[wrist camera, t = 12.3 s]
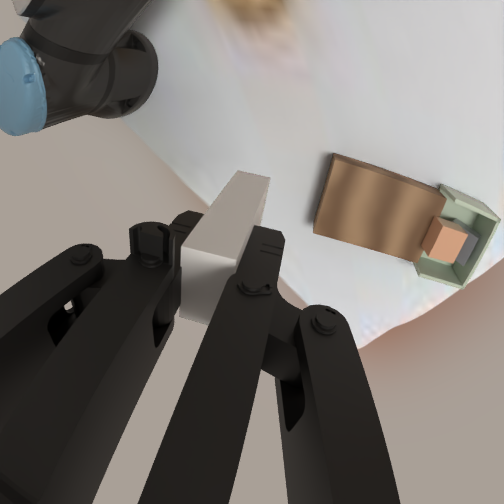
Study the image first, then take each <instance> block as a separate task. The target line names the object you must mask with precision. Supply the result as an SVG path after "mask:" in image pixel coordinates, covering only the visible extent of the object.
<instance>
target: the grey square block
mask: <svg viewBox="0 0 504 504" xmlns="http://www.w3.org/2000/svg"><path fill="white" fill-rule="evenodd" d="M452 222H454V223H456V224H459V225H460V226H461V227H462V228H463V229H464V230H465V232H466V233H467V234H468V236H467V238H466V240H465V242H464V244H463V246H462V248H461V250H460V252H459V254H458V255H457V257H456V259H455V260H456V261H457V262H458V263H460V264H461V265H462V266H464V265H465V264H466V263H467V261H468V259H469V258H470V256H471V254H472V252H473V250H474V248H475V246H476V244H477V242H478V240H479V238H480V236H481V235H480V234H479V233H478V232H476V231H475V230H473V229H472V228H470V227H469V226H467V225H466V224H464V223H463V222H461V221H460V220H458V219H457V218H456V219H455V220H453V221H452Z"/></svg>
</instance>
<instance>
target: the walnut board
mask: <svg viewBox="0 0 504 504" xmlns="http://www.w3.org/2000/svg"><path fill="white" fill-rule="evenodd" d="M446 200H447V198H446V197H445V196H444V195H443V194H442V193H441V192H440V191H439V190H438V189H436V188H434V187H431V186H429V185H426V184H424V183H421V182H418V181H416V180H413V179H411V178H408V177H405V176H403V175H400V174H397V173H394V172H391V171H389V170H386V169H383V168H380V167H377V166H374V165H371V164H368V163H365V162H362V161H359V160H355V159H352V158H349V157H346V156H342V155H339V154H336V153H333V157H332V161H331V164H330V168H329V171H328V175H327V178H326V182H325V185H324V188H323V192H322V195H321V199H320V202H319V205H318V209H317V212H316V215H315V218H314V225H313V233H315V234H318V235H322V236H326V237H329V238H333V239H336V240H340V241H343V242H347V243H350V244H354V245H357V246H361V247H364V248H368V249H371V250H375V251H378V252H382V253H385V254H388V255H392V256H395V257H398V258H402V259H405V260H408V261H412V262H415V263H418V261H419V259H420V257H421V255H422V253H423V251H424V249H423V248H422V246H421V244H422V242H423V240H424V238H425V236H426V234H427V232H428V229H429V227H430V225H431V223H432V221H433V218H434V216H436V217H440V215H441V212H442V210H443V208H444V205H445V203H446Z"/></svg>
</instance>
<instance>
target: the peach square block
mask: <svg viewBox="0 0 504 504" xmlns="http://www.w3.org/2000/svg"><path fill="white" fill-rule="evenodd" d="M467 236H468V234H467V233H466V232H465V230H464V229H463V228H462V227H461V226H460V225H459V224H456V223H454V222H451V221H448V220H445V219H442V218H439V217H436V216H434V218H433V221H432V223H431V225H430V227H429V229H428V232H427V234H426V236H425V238H424V240H423V242H422V244H421V246H422V248H423V249H424V251H425V253H426V254H427V256H428V257H431V258H435V259H438V260H442V261H446V262H449V263H454V261H455V259H456V257H457V255H458V254H459V252H460V250H461V248H462V246H463V244H464V242H465V240H466V238H467Z"/></svg>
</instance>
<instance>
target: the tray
mask: <svg viewBox="0 0 504 504" xmlns="http://www.w3.org/2000/svg"><path fill="white" fill-rule="evenodd" d="M439 191H440V192H441V193H442V194H443V195H444V196H445V197H446V198H447V200H446V203H445V205H444V208H443V210H442V212H441V215H440V217H439V218H442V219H445V220H448V221H451V222H452V221H453V220H455V219H456V218H457V219H458V220H460V221H461V222H463V223H464V224H466V225H467V226H469V227H470V228H472V229H473V230H475V231H476V232H478V233H479V234H480V235H481V236H480V238H479V240H478V242H477V244H476V246H475V248H474V250H473V252H472V254H471V256H470V258H469V259H468V261H467V263H466V264H465V265H464V266H462V265H461V264H460V263H458V262H457V261H456V260H455V261H454V263H449V262H446V261H442V260H438V259H435V258H431V257H428V256H427V254H426V253H425V251H423V253H422V255H421V257H420V259H419V261H418V263H415V262H413V264H414V266H415V269H416V271H417V274H418V276H419V277H422V278H426V279H429V280H433V281H436V282H439V283H443V284H446V285H449V286H453V287H456V288H459V289H464V287H465V286H466V284H467V283H468V281H469V279H470V278H471V276H472V274H473V273H474V271H475V269H476V267H477V266H478V264H479V262H480V260H481V258H482V257H483V255H484V253H485V251H486V249H487V247H488V245H489V243H490V241H491V239H492V237H493V235H494V233H495V231H496V229H497V227H498V225H499V223H500V221H501V219H500V218H499V217H498V216H497V215H496V214H495V213H494V212H493V211H492V210H491V209H490V208H489V207H487V206H486V205H485V204H484V203H482V202H480V201H478V200H476V199H474V198H472V197H470V196H468V195H465V194H463V193H461V192H459V191H457V190H454V189H452V188H450V187H448V186H445V185H443V184H441V185H440V188H439Z"/></svg>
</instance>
